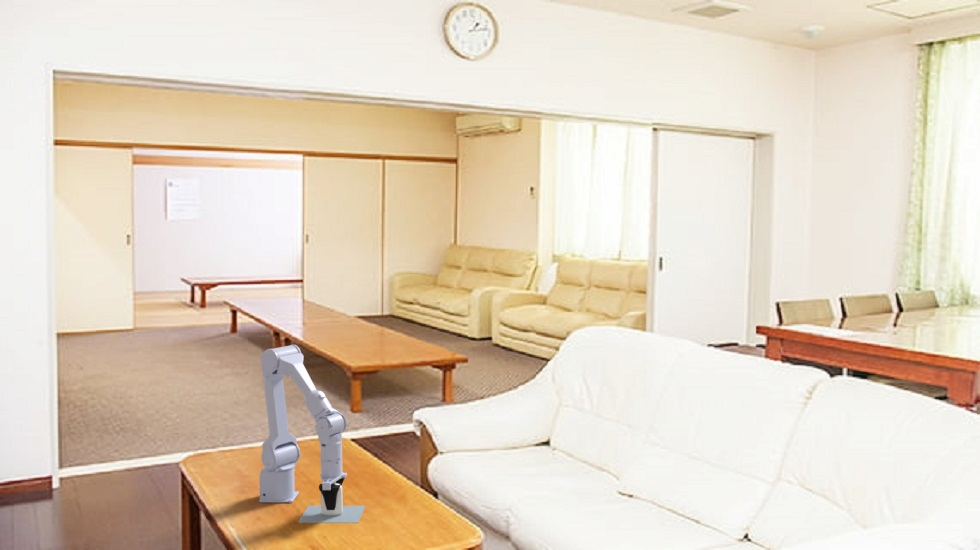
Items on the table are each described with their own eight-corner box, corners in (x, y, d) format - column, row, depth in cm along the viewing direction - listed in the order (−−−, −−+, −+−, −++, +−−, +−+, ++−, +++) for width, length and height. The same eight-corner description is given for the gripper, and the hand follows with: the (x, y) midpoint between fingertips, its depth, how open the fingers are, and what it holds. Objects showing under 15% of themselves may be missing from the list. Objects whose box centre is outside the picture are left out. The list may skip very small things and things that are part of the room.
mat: (297, 522, 215) (297, 522, 215) (308, 505, 227) (308, 505, 227) (358, 522, 215) (358, 522, 215) (365, 506, 227) (365, 505, 227)
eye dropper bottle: (335, 518, 218) (334, 474, 217) (318, 514, 220) (317, 471, 219) (345, 512, 222) (344, 469, 221) (328, 509, 224) (327, 466, 223)
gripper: (341, 466, 212) (341, 517, 214) (351, 449, 227) (351, 497, 228) (314, 466, 212) (315, 517, 214) (325, 449, 227) (326, 497, 228)
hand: (332, 506), depth 221 cm, fingers open, 3 cm apart
